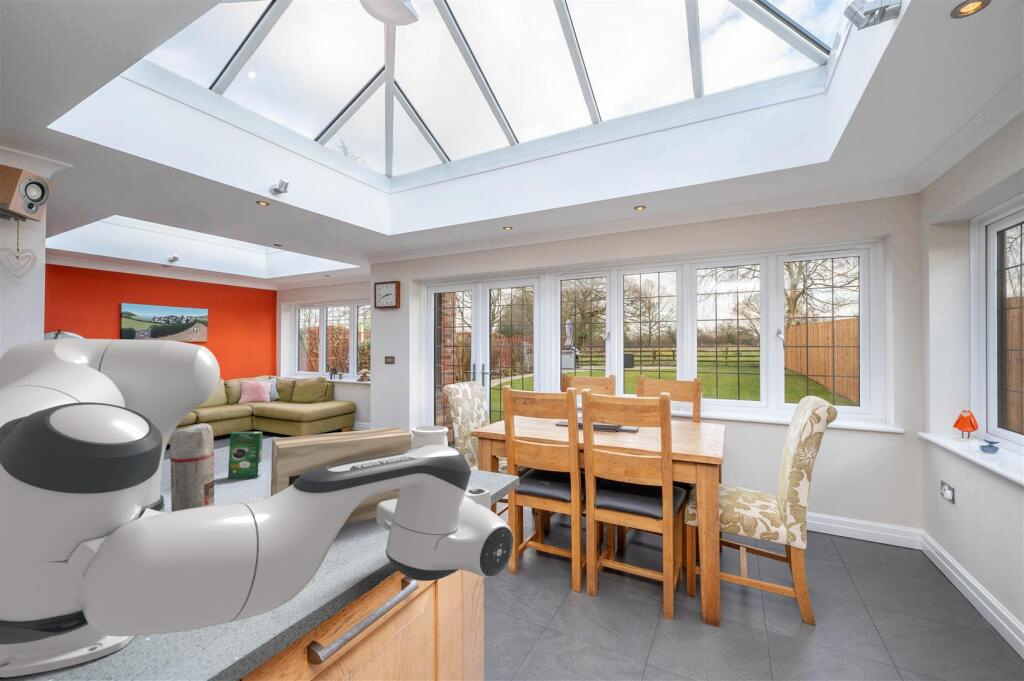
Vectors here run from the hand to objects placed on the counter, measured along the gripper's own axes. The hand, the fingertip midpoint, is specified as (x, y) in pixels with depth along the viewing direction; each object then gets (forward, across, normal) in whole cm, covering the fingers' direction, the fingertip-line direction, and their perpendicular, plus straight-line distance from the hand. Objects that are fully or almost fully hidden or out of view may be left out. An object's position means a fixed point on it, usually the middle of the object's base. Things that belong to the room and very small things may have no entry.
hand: (417, 494), depth 87 cm
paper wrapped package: (+40, -37, -9) cm, 55 cm away
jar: (+35, +18, -9) cm, 40 cm away
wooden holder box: (+20, -9, -9) cm, 24 cm away
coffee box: (+65, -25, -9) cm, 70 cm away
